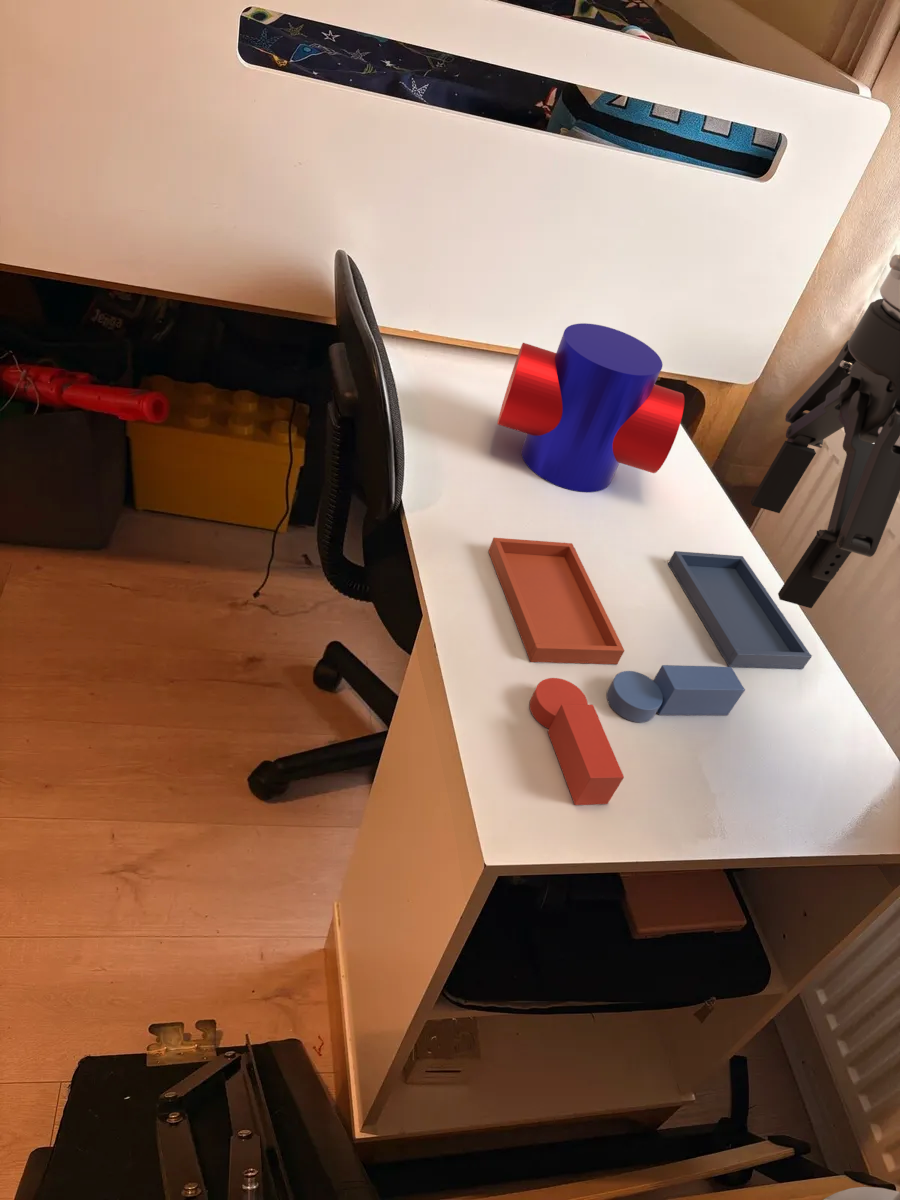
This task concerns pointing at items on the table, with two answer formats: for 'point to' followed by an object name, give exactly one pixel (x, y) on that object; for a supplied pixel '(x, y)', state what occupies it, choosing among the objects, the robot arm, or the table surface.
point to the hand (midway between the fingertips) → (778, 551)
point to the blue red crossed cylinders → (591, 407)
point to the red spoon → (577, 741)
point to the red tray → (554, 603)
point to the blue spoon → (675, 692)
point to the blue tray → (738, 611)
